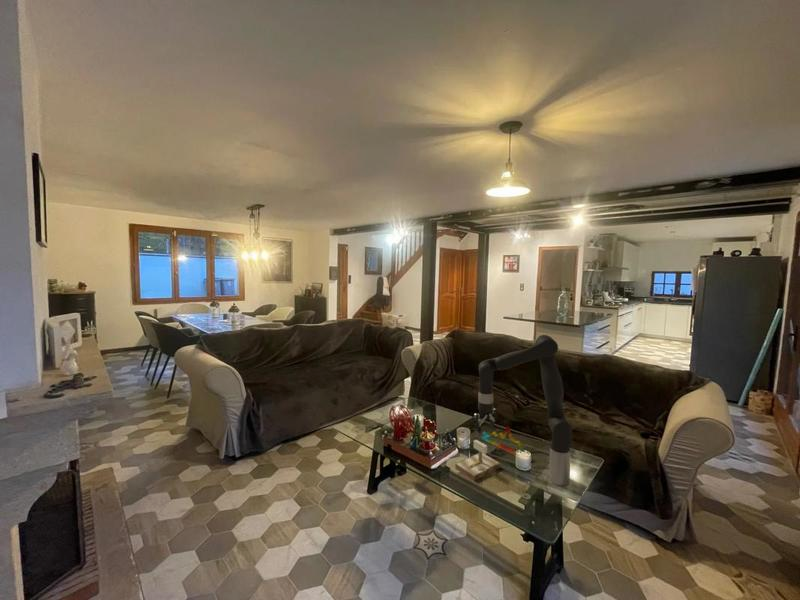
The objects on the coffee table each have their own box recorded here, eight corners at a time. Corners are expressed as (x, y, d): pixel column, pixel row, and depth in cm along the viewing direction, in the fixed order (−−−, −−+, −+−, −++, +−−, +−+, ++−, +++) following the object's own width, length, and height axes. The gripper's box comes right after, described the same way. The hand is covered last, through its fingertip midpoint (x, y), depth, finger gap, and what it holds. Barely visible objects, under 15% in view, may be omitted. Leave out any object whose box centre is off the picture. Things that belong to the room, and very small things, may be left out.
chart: (481, 440, 220) (481, 417, 218) (484, 438, 222) (484, 415, 220) (524, 461, 196) (525, 436, 194) (527, 459, 198) (528, 434, 196)
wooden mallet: (476, 457, 196) (476, 439, 194) (487, 463, 189) (487, 445, 188) (463, 463, 190) (463, 445, 189) (473, 470, 183) (473, 451, 182)
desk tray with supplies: (480, 455, 202) (480, 451, 202) (501, 467, 190) (501, 463, 190) (455, 468, 191) (455, 463, 191) (474, 481, 179) (474, 476, 179)
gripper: (491, 395, 186) (490, 424, 188) (469, 400, 179) (470, 430, 181) (501, 400, 179) (501, 429, 181) (479, 406, 173) (479, 437, 175)
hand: (485, 430), depth 181 cm, fingers open, 8 cm apart
